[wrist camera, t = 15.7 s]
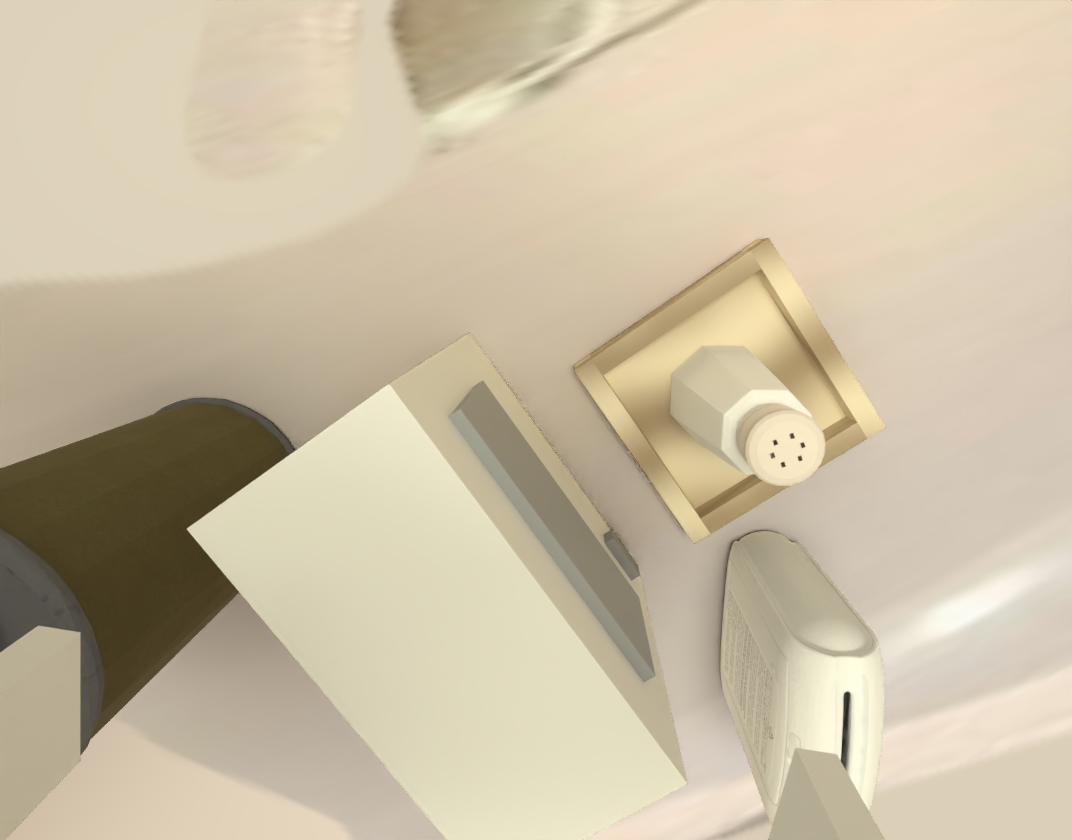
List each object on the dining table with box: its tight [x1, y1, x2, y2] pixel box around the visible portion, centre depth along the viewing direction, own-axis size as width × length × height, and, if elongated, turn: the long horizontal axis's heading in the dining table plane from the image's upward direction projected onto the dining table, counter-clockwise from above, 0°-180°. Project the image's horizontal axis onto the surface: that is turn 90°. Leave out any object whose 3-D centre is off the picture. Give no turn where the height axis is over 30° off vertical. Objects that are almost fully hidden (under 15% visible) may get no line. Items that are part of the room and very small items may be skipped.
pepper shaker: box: [670, 345, 826, 486], centre depth 29 cm, size 5×5×11 cm
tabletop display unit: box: [187, 333, 688, 840], centre depth 29 cm, size 16×9×16 cm, turn 35°
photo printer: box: [720, 531, 885, 825], centre depth 32 cm, size 10×4×12 cm, turn 0°
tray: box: [574, 238, 886, 544], centre depth 34 cm, size 11×11×2 cm
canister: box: [0, 398, 294, 755], centre depth 28 cm, size 11×10×20 cm
